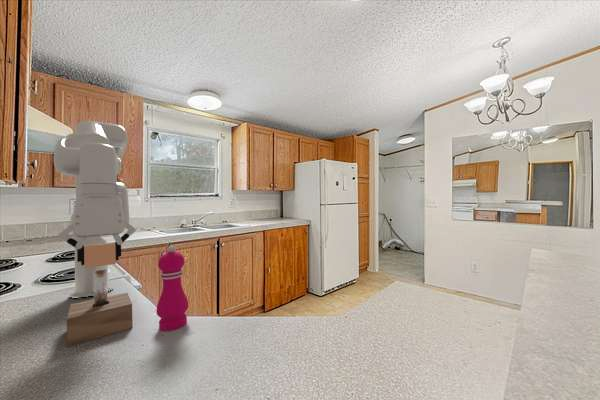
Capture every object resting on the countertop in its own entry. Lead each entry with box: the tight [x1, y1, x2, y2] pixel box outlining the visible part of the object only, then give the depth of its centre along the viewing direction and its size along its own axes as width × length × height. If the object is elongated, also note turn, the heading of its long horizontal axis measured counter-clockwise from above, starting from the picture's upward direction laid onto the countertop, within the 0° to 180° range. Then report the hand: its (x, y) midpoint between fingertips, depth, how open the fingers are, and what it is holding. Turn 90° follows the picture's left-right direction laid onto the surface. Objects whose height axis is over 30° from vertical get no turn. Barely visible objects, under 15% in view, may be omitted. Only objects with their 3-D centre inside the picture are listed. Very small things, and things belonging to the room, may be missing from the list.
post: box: [93, 269, 108, 307], centre depth 63 cm, size 3×3×9 cm
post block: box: [66, 292, 134, 347], centre depth 63 cm, size 12×12×6 cm
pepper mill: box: [155, 245, 189, 332], centre depth 63 cm, size 7×7×20 cm
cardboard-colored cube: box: [84, 242, 117, 268], centre depth 63 cm, size 6×6×5 cm
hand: (100, 261), depth 63 cm, fingers closed on cardboard-colored cube, 6 cm apart
